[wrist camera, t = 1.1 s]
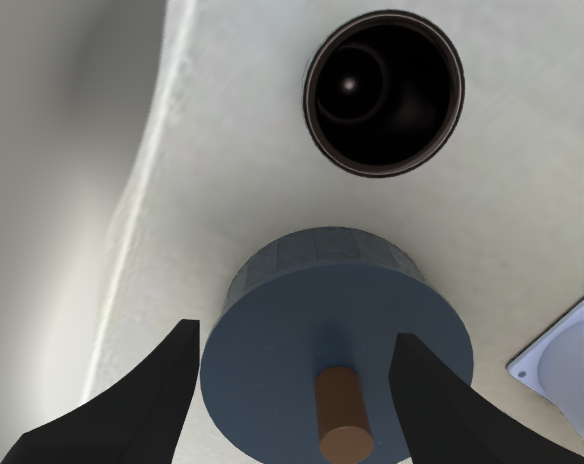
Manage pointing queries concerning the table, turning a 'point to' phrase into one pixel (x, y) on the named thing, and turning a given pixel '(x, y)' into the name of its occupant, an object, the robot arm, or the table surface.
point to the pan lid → (323, 361)
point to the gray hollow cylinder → (383, 93)
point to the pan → (317, 254)
